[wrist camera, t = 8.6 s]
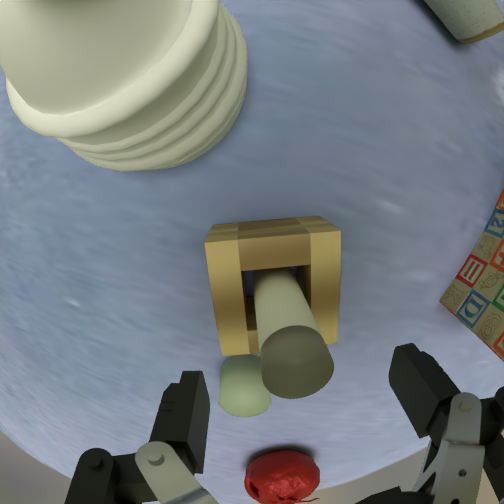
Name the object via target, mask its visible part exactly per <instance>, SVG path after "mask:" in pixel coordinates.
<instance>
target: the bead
mask: <svg viewBox="0 0 504 504" xmlns="http://www.w3.org/2000/svg"><path fill="white" fill-rule="evenodd" d="M218 401H219V405H220V407H221V408H222V409H223V410H224V411H225V412H227V413H229V414H231V415H234V416H238V417H252V416H256V415H259V414H261V413H263V412H264V411H266V410H267V409H268V408H269V406H270V404H271V393H270V392H269V391H268V390H267V389H266V387H265V386H264V384H263V381H262V372H261V362H260V358H259V357H257V356H254V355H250V354H243V355H235V356H232V357H230V358H228V359H227V360H226V361H225V362H224V363H223V365H222V367H221V374H220V387H219V400H218Z"/></svg>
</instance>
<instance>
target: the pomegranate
mask: <svg viewBox="0 0 504 504" xmlns="http://www.w3.org/2000/svg"><path fill="white" fill-rule="evenodd" d="M319 483H320V470H319V468H318V466H317V465H316V464H315V462H314V460H313V459H312V458H311V457H309V456H307V455H304V454H302V453H300V452H296V451H293V450H281V451H276V452H271V453H267V454H264V455H262V456H260V457H258V458H256V459H254V460H253V461H252V462H251V463H250V464H249V465H248V467H247V469H246V476H245V480H244V484H245V489H246V491H247V493H248V494H249V495H250V496H251V497H252V498H253V499H255V500H257V501H258V502H259V503H261V504H294V503H300V502H311V501H313V500H316V499H319V498H315V499H313V500H310V501H300V500H302V499H303V498H305V497H308V496H309V495H311V493H312V492H313V491H314V490H315V489H316V488H317V487H318V485H319Z"/></svg>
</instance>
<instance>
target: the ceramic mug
mask: <svg viewBox="0 0 504 504" xmlns="http://www.w3.org/2000/svg"><path fill="white" fill-rule="evenodd" d="M424 1H425V2H426V3H427V5H428V6H429V7H430V8H431V9H432V10H433V11H434V13H435V14H436V15H437V16H438V17H439V19H440V20H441V21H442V22H443V24H444V25H445V26H446V28H447V29H448V30H449V31H450V33H451V34H452V35H453V36H454V37H455V38H456V39H457V40H458V41H459V42H461V43H465V44H468V43H473V42H476V41H479V40H482V39H485V38H487V37H490V36H492V35H494V34H496V33H498V32H500V31H502V30H503V29H504V16H503V14H502V12H501V10H500V8H499V7H498V5H497V4H496V2H495V1H494V0H424Z"/></svg>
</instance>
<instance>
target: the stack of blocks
mask: <svg viewBox="0 0 504 504" xmlns="http://www.w3.org/2000/svg"><path fill="white" fill-rule="evenodd" d="M440 302H441V303H442V304H443V305H444V306H445V307H446V308H447V309H448V310H449V311H450V312H451V313H453V314H454V315H455V316H456V317H457V318H458V319H459V320H460V321H461V322H462V323H463V324H464V325H465V326H466V327H467V328H469V329H470V330H471V331H472V332H473V333H474V334H476V336H478V337H479V338H480V339H481V340H482V341H483V342H484V343H485V344H486V345H487V346H488V347H489V348H490V349H491V350H492V351H493V352H494V353H495V354H496V355H497V356H498V357H499V358H500V359H502V361H503V362H504V190H503V192H502V194H501V196H500V198H499V200H498V203H497V205H496V209H495V210H494V212H493V214H492V216H491V218H490V220H489V222H488V224H487V226H486V228H485V230H484V232H483V233H482V235H481V237H480V239H479V241H478V242H477V244H476V246H475V248H474V250H473V251H472V253H471V254H470V255H469V257H468V259H467V260H466V262H465V264H464V265H463V267H462V268H461V270H460V271H459V273H458V275H457V276H456V278H455V279H454V280H453V282H452V283H451V285H450V286H449V288H448V289H447V291H446V292H445V293H444V295H443V296H442V298H441V299H440Z"/></svg>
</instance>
